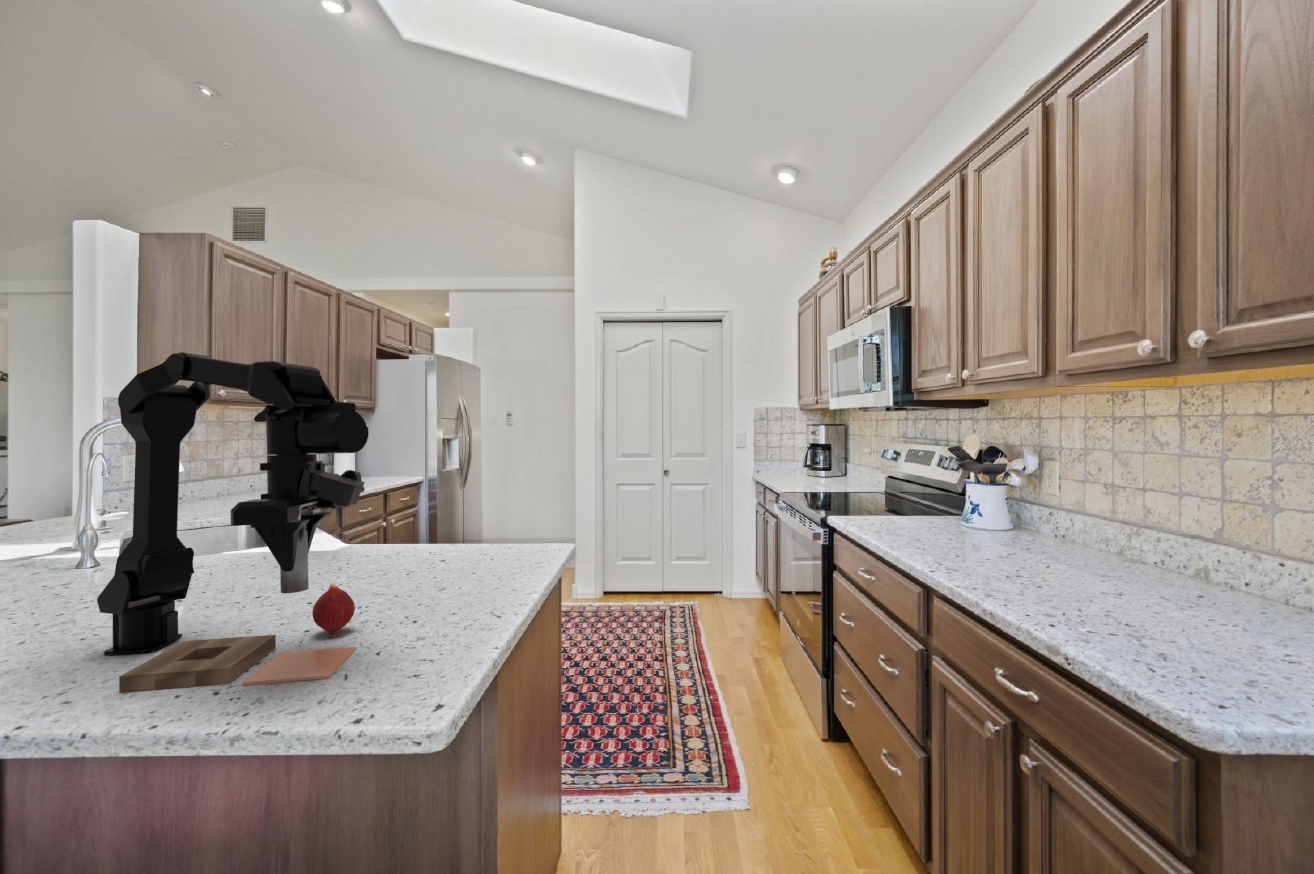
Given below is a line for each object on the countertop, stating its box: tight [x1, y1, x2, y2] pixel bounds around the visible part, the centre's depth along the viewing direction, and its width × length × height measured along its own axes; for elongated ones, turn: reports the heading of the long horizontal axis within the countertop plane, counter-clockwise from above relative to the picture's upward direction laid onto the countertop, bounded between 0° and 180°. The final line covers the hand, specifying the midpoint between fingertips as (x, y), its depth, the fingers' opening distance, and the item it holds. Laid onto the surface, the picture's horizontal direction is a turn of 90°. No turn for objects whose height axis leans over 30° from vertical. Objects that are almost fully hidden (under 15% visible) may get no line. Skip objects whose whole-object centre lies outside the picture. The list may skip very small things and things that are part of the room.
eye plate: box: [118, 634, 277, 693], centre depth 74 cm, size 12×12×2 cm
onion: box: [311, 582, 356, 635], centre depth 88 cm, size 6×6×8 cm
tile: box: [242, 646, 357, 686], centre depth 75 cm, size 10×10×1 cm
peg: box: [279, 523, 310, 594], centre depth 75 cm, size 3×3×9 cm
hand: (294, 568), depth 75 cm, fingers closed on peg, 3 cm apart
